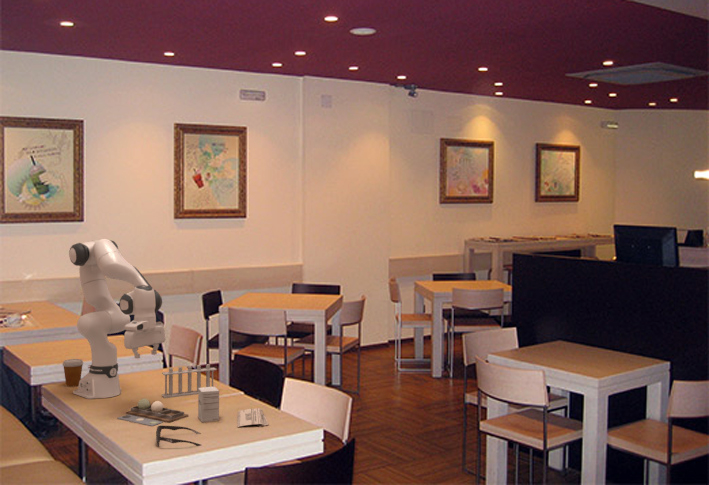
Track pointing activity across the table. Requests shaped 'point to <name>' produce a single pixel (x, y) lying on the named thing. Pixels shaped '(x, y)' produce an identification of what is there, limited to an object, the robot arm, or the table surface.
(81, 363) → the disposable coffee cup
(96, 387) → the robot arm
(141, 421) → the pattern card
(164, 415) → the socket board
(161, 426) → the sunglasses
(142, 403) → the sage ball
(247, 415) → the newspaper
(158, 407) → the cream ball
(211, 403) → the supplement box
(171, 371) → the test tube rack
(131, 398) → the table surface
